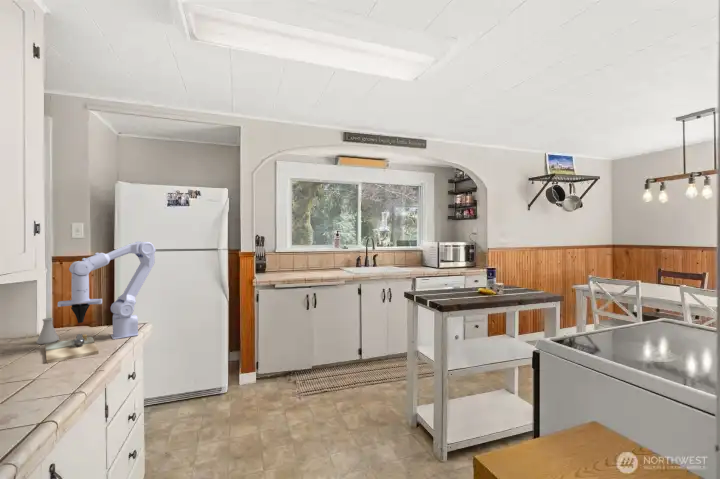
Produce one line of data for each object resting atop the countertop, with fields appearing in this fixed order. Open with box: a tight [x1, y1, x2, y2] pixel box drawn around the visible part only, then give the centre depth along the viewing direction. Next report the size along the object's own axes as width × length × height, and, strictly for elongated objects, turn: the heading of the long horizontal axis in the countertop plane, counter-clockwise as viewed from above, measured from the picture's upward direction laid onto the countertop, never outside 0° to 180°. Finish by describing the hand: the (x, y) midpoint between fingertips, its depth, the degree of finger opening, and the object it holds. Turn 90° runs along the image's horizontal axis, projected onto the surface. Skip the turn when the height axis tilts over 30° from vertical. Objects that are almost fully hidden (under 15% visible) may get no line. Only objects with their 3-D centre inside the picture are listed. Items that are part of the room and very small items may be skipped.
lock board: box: [44, 334, 99, 364], centre depth 138 cm, size 15×22×4 cm
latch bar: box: [73, 333, 84, 345], centre depth 143 cm, size 11×3×2 cm, turn 38°
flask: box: [35, 317, 60, 345], centre depth 149 cm, size 7×7×10 cm
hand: (80, 322), depth 146 cm, fingers closed
